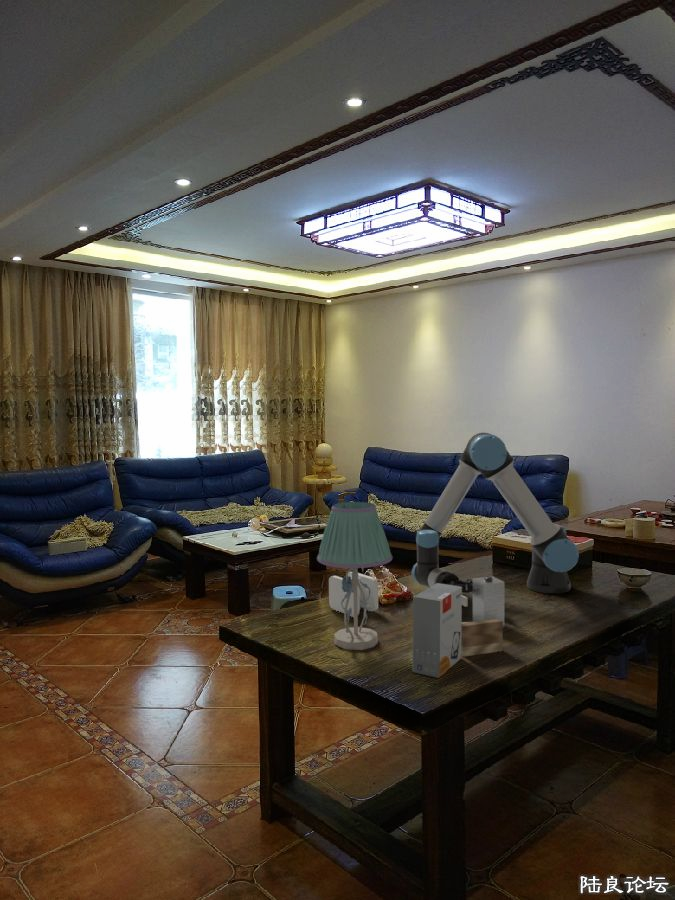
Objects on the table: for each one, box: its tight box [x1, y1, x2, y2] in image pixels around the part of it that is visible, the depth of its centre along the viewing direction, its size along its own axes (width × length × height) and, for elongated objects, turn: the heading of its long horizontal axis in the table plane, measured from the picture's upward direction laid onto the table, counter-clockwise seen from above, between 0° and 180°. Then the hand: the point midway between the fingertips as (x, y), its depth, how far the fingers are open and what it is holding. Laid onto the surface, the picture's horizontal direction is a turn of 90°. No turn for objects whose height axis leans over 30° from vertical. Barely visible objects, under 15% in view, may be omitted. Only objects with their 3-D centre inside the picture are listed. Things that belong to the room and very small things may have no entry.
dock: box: [461, 619, 504, 658], centre depth 188 cm, size 12×18×8 cm, turn 17°
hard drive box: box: [411, 583, 463, 679], centre depth 171 cm, size 16×8×20 cm, turn 148°
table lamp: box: [316, 501, 393, 651], centre depth 188 cm, size 22×22×40 cm
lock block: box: [472, 575, 506, 627], centre depth 202 cm, size 7×7×15 cm
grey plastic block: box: [328, 571, 379, 618], centre depth 218 cm, size 15×11×12 cm
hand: (484, 598), depth 202 cm, fingers open, 13 cm apart
